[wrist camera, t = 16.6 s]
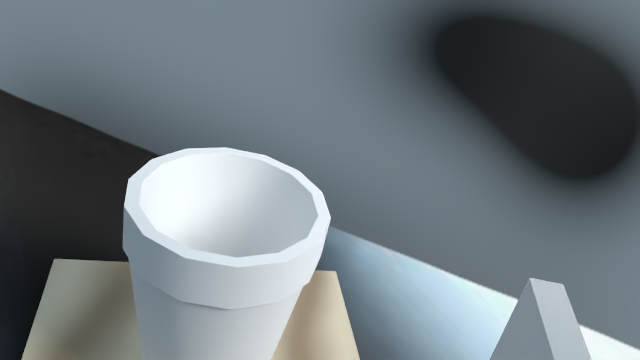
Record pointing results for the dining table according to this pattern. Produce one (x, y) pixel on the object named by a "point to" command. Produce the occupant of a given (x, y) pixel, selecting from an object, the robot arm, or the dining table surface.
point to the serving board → (122, 328)
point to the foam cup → (219, 252)
